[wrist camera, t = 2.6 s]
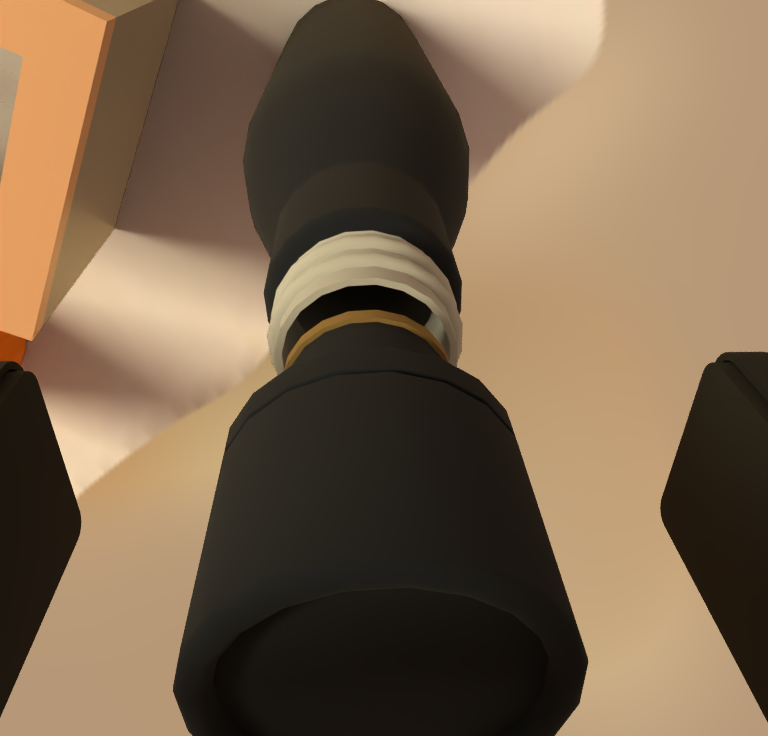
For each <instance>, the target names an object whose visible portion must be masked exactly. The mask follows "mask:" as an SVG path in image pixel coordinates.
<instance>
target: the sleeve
mask: <svg viewBox="0 0 768 736" xmlns="http://www.w3.org/2000/svg"><path fill="white" fill-rule="evenodd" d="M177 4H178V0H0V47H2V48H4V49H7V50H9V51H11V52H13V53H16V54H18V55H20V56H22V57H23V60H22V66H21V72H20V77H19V83H18V88H17V94H16V99H15V105H14V110H13V116H12V122H11V127H10V133H9V138H8V144H7V149H6V155H5V161H4V166H3V172H2V177H1V183H0V331H3V332H6V333H9V334H12V335H15V336H18V337H21V338H24V339H27V340H30V341H32V340H33V339H34V337H35V336H36V335H37V333H38V332H39V331H40V329H41V328H42V327H43V325H44V324H45V322H46V321H47V320H48V318H49V317H50V316H51V314H52V313H53V312H54V310H55V309H56V307H57V306H58V305H59V303H60V302H61V301H62V299H63V298H64V297H65V295H66V294H67V292H68V291H69V290H70V288H71V287H72V286H73V284H74V283H75V282H76V280H77V279H78V278H79V276H80V275H81V273H82V272H83V271H84V269H85V268H86V267H87V265H88V264H89V263H90V261H91V260H92V258H93V257H94V256H95V254H96V253H97V252H98V250H99V249H100V248H101V246H102V245H103V243H104V242H105V241H106V239H107V238H108V237H109V235H110V234H111V233H112V231H113V230H114V228H115V224H116V221H117V217H118V214H119V210H120V206H121V203H122V199H123V196H124V192H125V189H126V185H127V182H128V178H129V174H130V171H131V167H132V164H133V160H134V157H135V153H136V150H137V146H138V142H139V139H140V135H141V132H142V128H143V125H144V121H145V118H146V114H147V111H148V107H149V103H150V100H151V96H152V93H153V89H154V86H155V82H156V79H157V75H158V71H159V68H160V64H161V61H162V57H163V54H164V50H165V47H166V43H167V40H168V36H169V32H170V29H171V25H172V22H173V18H174V15H175V11H176V8H177Z"/></svg>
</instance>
